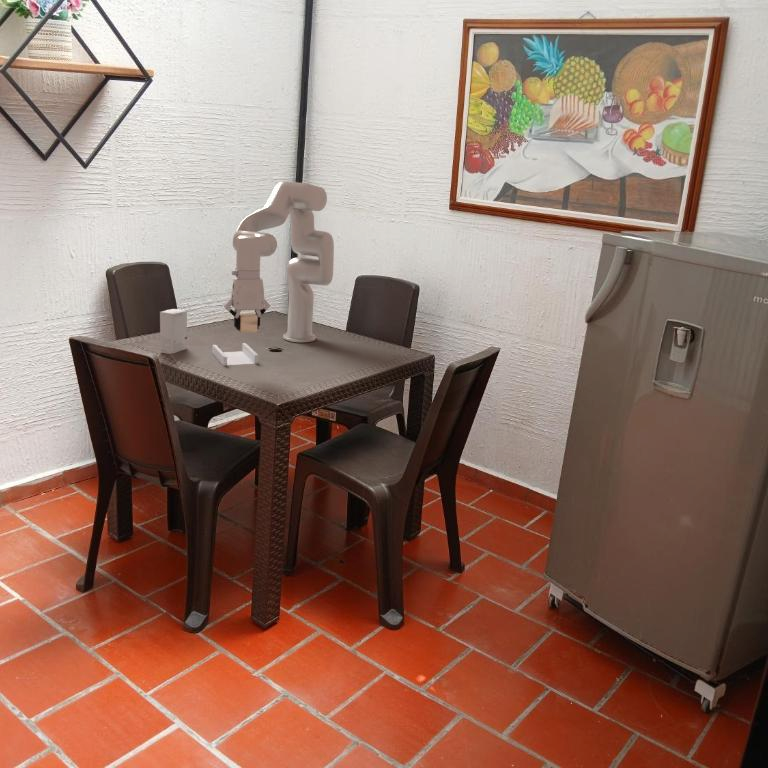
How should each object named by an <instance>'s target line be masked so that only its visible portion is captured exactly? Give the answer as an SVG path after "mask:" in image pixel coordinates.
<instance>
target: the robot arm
mask: <svg viewBox="0 0 768 768" xmlns="http://www.w3.org/2000/svg"><path fill="white" fill-rule="evenodd" d="M327 201H328V195H327V192H326V190H325V188H324V187H322V186H318V185H315V184H311V183H306V182H295V181H294V182H293V181H285V180H284V181H280V182H279V183H277V184H276V185H275V186H274V188H273V190H272V192H271V193H270V195H269V197H268V198H267V201H266V202H265V204H264V205H263V208H260V209H257V210H256V211H254V212H253V213H251V214H249V215H247V216H245V217H244V219H242V220H241V222H240V223H239V225H238V227H237V228H236V230H235V233H234V234H233V237H232V248H233V249H234V251H235V252H236V261H235V262H236V267H235V270H231V275H232V276H235V277H233V282H232V287H231V296H230V297H231V298H230V299H229V300H228V302H226V303H225V305H224V309H225V310H226V311H228V312H229V313H230V314H231V315H232V316H233V327H234V328H235V329H236V330H237V331H238V330H240V318H239V315H240V312H242V311H254V313H255V314H256V315H257V316H258V322H257V330H259V329H260V328H259V327H260V326H261V318H262V316H263V315H264V314H265V313H266V311H268V310H269V308H270V307H271V305H270V303H269V302H268V301H267V300H266V299H265V290H264V282H263V278H261V276H260V275H261V257H270V256H272V255H274V253H275V252H276V250H277V248H278V241H277V239H276V237H275V236H274V235H273V234H270V233H266V232H261V231H264V230H269V229H273V228H277V227H280V226H282V225H283V224H285V223H286V221H287V219H288V217H289V216H290V222H291V223H290V224H291V225H290V230H291V231H290V234H291V235H290V242H291V243H290V245H291V250H292V252H293V253H295V254H298V255H303V257H302V256H301V257H300V256H299V257H293V258H290V260H289V261H288V263H287V266H286V267H287V268H286V272H287V273H286V274H287V279H288V280H287V281H288V305H287V306H288V308H287V309H288V310H287V331H286V332H285V333H283V335H282V338H283V339H284V340H286V341H287V342H292V343H300V344H301V343H310V342H314V341H315V340H316V338H317V337H316V335H315V334H314V333H313V314H314V298H315V296H314V292H313V289H312V288H311V286H310V285H317V286H328V285H330V284H331V283H332V281H333V279H334V278H333V276H334V262H335V261H334V257H335V256H334V252H335V246H334V245H335V244H334V238H333V236H332V235H331V233H329V232H327V231H323V230H316V229H315V216H314V213H313V211H314V212H320V211H322V210H323V209H324V208H325V207H326V205H327ZM304 256H310V257H317V258H310V257H304ZM231 307H233V308H234V310H233V309H232V308H231Z"/></svg>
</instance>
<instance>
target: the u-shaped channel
mask: <svg viewBox="0 0 768 768" xmlns="http://www.w3.org/2000/svg"><path fill="white" fill-rule="evenodd" d="M212 354H213V355H214V357H215V358H216V359H217V360H218V361H219V362H220V363H221V365H222V366H239V365H240V366H241V365H256V364H259V354H258V353H257V352H256V351H255V350H254V349H252V347H250V345H249V344H248V343H246V342H242V345H241V350H240V351H239V350H238V351H224V352H223V350H222V349H221V348H219V346H218V345H217V344H212Z"/></svg>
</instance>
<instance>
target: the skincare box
mask: <svg viewBox="0 0 768 768" xmlns="http://www.w3.org/2000/svg"><path fill="white" fill-rule="evenodd" d="M187 320H188V310H186V309H181V308H180V309H179V308H171V309H166V310H163V311H159V327H160V328H159V333H160V335H159V336H160V339H159V340H160V341H159V342H160V343H159V344H160V353H161V354H162V353H164V354H167V355H170V356H172V354H176V353H179V352H181V351H184V350H187V349H188V321H187Z"/></svg>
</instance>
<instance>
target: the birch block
mask: <svg viewBox="0 0 768 768" xmlns="http://www.w3.org/2000/svg"><path fill="white" fill-rule="evenodd" d="M239 318H240V330H237V331H238V332H240V333H241V334H244V333H245V334H247V333H257V332H258V329H257V322H258V316H257V315H256V314H255V312H253V311H241V312H240V315H239Z"/></svg>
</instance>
